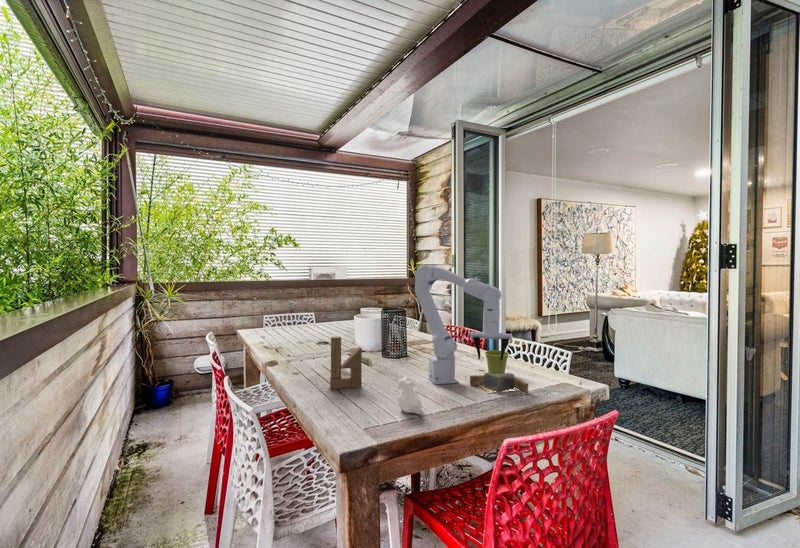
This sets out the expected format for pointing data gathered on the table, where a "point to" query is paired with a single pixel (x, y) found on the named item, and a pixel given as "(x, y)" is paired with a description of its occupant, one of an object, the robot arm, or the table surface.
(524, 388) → the walls
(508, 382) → the bracket
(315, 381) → the table surface
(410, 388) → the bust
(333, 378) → the brown angular piece
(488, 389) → the pad
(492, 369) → the plant pot
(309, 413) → the table surface
